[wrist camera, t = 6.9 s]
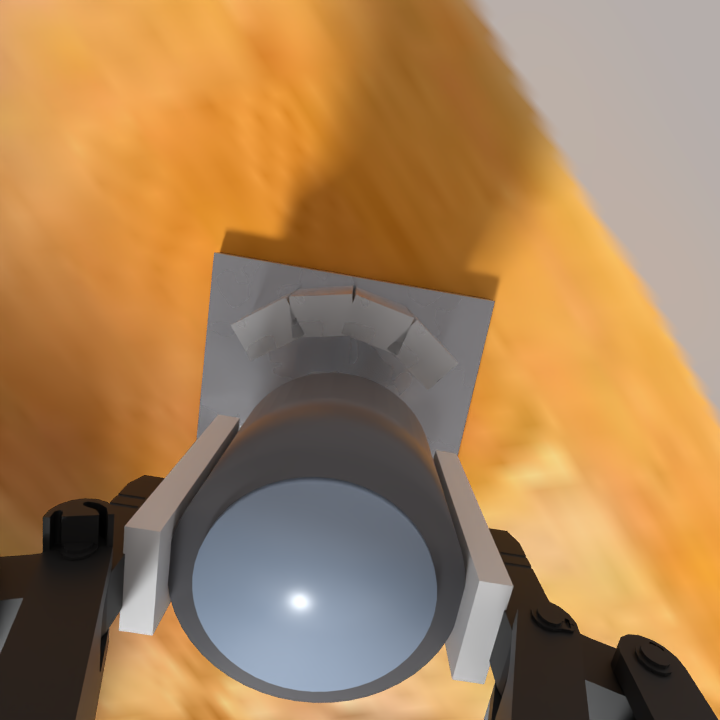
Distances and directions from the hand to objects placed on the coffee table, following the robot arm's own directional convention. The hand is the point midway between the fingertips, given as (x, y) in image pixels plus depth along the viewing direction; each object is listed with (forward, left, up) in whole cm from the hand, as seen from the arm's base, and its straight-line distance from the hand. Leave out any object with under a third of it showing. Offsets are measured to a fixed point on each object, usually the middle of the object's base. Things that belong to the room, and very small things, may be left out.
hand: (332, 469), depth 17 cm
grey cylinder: (0, 0, 0) cm, 0 cm away
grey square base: (0, 0, -7) cm, 7 cm away
